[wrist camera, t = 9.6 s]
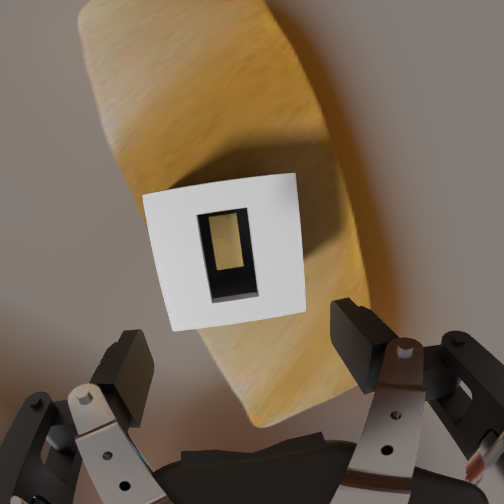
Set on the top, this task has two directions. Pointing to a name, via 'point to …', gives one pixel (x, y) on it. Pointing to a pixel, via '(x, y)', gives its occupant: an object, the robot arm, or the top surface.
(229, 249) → the tan rectangular block
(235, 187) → the coin box
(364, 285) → the top surface
